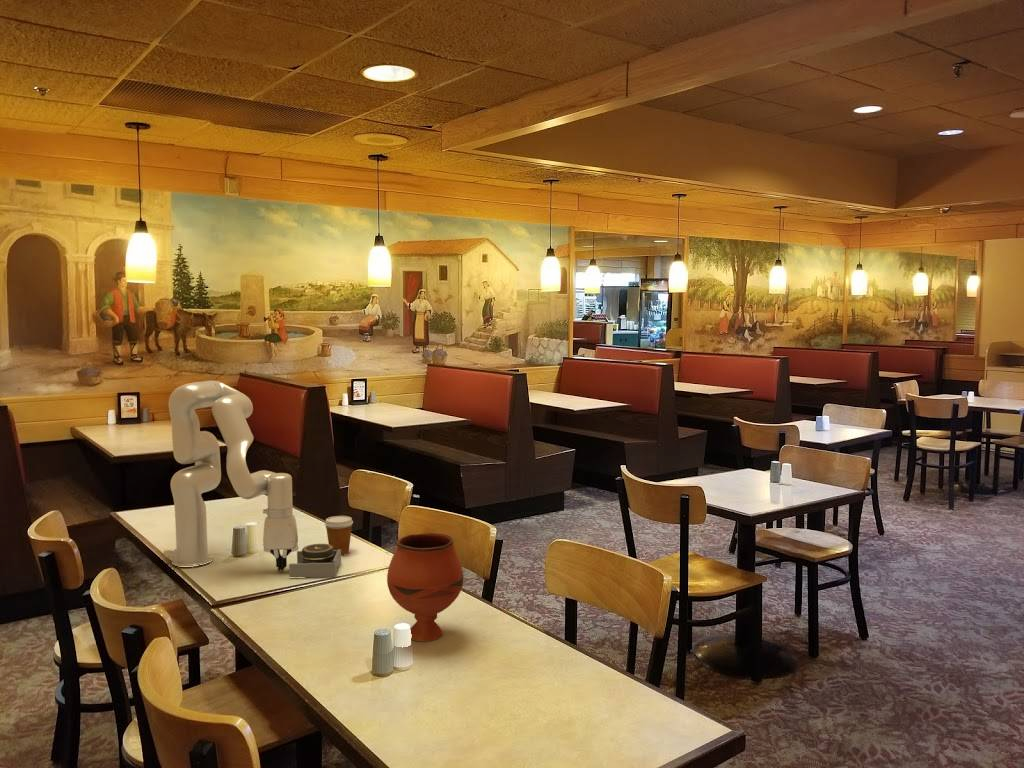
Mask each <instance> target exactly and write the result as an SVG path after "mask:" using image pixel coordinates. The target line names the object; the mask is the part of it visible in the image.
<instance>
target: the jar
mask: <svg viewBox="0 0 1024 768" xmlns="http://www.w3.org/2000/svg"><path fill="white" fill-rule="evenodd" d="M301 551H302V563H333V559H334V547H333V546H332V545H329V543H312V544H308V545H305V546H303V547H302V550H301Z"/></svg>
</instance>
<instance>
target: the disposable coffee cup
mask: <svg viewBox="0 0 1024 768" xmlns="http://www.w3.org/2000/svg"><path fill="white" fill-rule="evenodd" d="M353 524H354V521H353V519H352V517H350V516H347V515H334V516H329V517H328V518H326V519H325V522H324V526H325V529H326V536H327V540H328V541H327V544H329V545H332V546H333V547H334V550H338V549H341V555H343V556H345V555H344V554H347V553H348V554H349V553H350V544H351V536H352V528H353V527H352V526H353ZM348 554H347V555H348Z"/></svg>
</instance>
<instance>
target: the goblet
mask: <svg viewBox="0 0 1024 768" xmlns="http://www.w3.org/2000/svg"><path fill="white" fill-rule="evenodd" d="M454 541H455V540H454V537H452V536H450V535H447V534H443V533H437V532H436V533H435V532H434V533H433V532H429V533H420V534H416V533H415V534H408V535H405V536H402V537H400V538H399V539H398V540H397V541H396V548H395V550H394V553H393V555H392V557H391V560H390V563H389V565H388V569H387V576H386V583H387V588H388V591H389V593H390V596H391V597H392V599H393V600H394V602H396V604H398V605H399V606H400V607H401V608H402V609H404V610H405V611H406V612H409V613H411V614H412V615H414V619H415V620H416V622H415V623H414V624H413V625H412V626H411V627H410V629H411V634H412V639H411V640H412V641H414V642H415V641H416V642H431V641H435V640H438V639H440V638H441V637H442V635H444V634H443V630H442V629H441V627H440V626H439V624H438V623H437V622H436V620H437V619H438V614H440V613H441V612H443V611H446V609H447V608H449V607H450V606H451V605H452V604H453V603H454V602H455V601H456V599H457V598H458V596H459V595H460V593H461V591H462V588H463V587H464V586H463V585H464V574H463V573H464V571H463V568H462V563H461V560H460V557H459V555H458V553H457V551H456V547H455V545H454Z"/></svg>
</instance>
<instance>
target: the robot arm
mask: <svg viewBox="0 0 1024 768" xmlns="http://www.w3.org/2000/svg"><path fill="white" fill-rule="evenodd" d="M208 407H211V413H212V416H213V418H214V420H215V422H216V424H217V427H218V429H219V432H220V433H221V436H222V438H223V441H224V442H225V445H226V447H227V448H226V449H227V454H226V464H225V465H226V473H227V476H228V478H229V481H230V483H231V485H232V488H233V490H234V491H235V493H236V494H237V495H238V497H239V498H241V499H243V500H253V499H255V498H257V497H260V496H263V495H266V494H267V508H265V509H262V514H265V515H266V517H265V519H264V524H263V537H262V538H263V539H262V542H263V543H262V545H263V552H266V553H270V554H271V555H272V556H274V558H275V567H276V568H277V571H284V570H285V568H286V567H287V566H288V565H287V562H288V561H287V558H288V556H289V555H290V554H291V553H294V552H297V551H299V545H298V541H299V535H298V527H297V519H296V516H295V515H294V514H293V509H294V508H293V477H292V475H291V474H289V473H287V472H286V473H285V472H277V473H276V472H274V471H270V470H266V469H265V470H263V469H262V470H258V471H255V472H252V473H250V471H249V468H248V464H247V461H246V460H247V459H246V457H247V452H248V449H249V448H250V446H251V445H252V443H253V441H254V435H253V433H252V431H251V428H250V426H249V424H248V422H247V419H248V418H249V417H251V415H252V414H253V411H254V407H253V402H252V401H251V399H250V397H249V396H247V395H246V394H244V393H243V392H240V390H237V389H235V388H234V387H231V386H229V385H227V384H225V383H223V382H221V381H218V380H205V381H194V382H189V383H185V384H181V385H180V386H178V387H176V388H175V389H174V390H173V391H172V392H171V394H170V395H169V398H168V411H169V416H170V422H171V423H170V424H171V439H172V440H171V441H172V452H173V457H174V460H175V461H176V462H177V463H179V464H180V465H188V464H193V463H194V465H192V466H188V467H185V468H183V469H180V470H178V471H177V472H175V473H174V474H173V476H172V477H171V480H170V491H171V494H172V498H173V503H174V504H173V505H174V517H175V518H174V519H175V545H176V549H173V550H169V549H167V550H166V549H165V550H164V551H163V556H164V557H165V558H166V559H168V558H172V560H171V565H172V564H173V565H175V566H193V565H200V564H204V563H207V562H209V561H211V560H212V559H213V560H214V556H213V555H211V554H210V553H209V550H208V549H209V548H208V525H207V524H208V521H207V520H208V519H207V508H206V503H205V501H204V499H203V497H202V494H203V493H207V492H210V491H213V490H215V489H216V488H217V487H218V486H219V485H220V483H221V480H222V469H221V468H222V467H221V453H220V444H219V442H218V441H219V440H218V439H217V437H216V436H215V435H214V434H213V433H212V432H210V431H207V430H200V429H201V427H200V426H201V424H200V419H199V416H198V414H197V413H196V411H195V410H197V409H203V408H208ZM281 550H282V554H281ZM173 565H172V566H173ZM175 566H174V567H175Z"/></svg>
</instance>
